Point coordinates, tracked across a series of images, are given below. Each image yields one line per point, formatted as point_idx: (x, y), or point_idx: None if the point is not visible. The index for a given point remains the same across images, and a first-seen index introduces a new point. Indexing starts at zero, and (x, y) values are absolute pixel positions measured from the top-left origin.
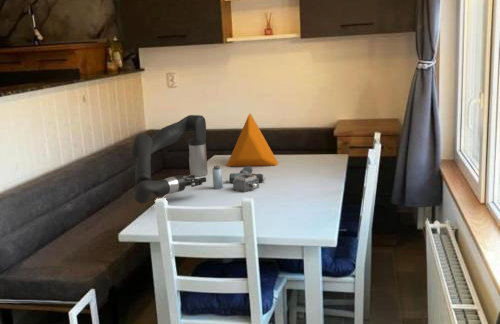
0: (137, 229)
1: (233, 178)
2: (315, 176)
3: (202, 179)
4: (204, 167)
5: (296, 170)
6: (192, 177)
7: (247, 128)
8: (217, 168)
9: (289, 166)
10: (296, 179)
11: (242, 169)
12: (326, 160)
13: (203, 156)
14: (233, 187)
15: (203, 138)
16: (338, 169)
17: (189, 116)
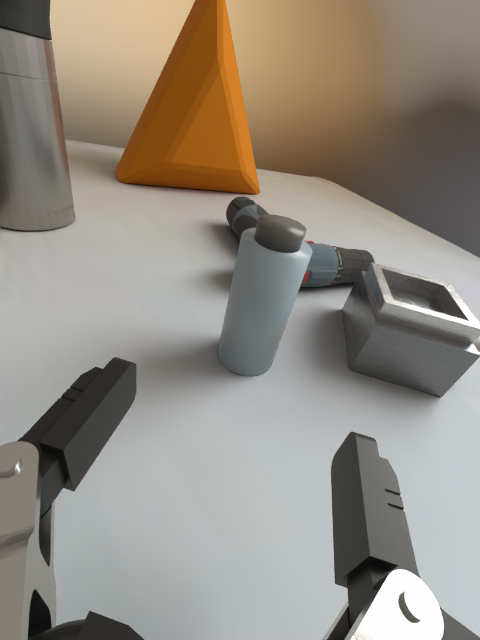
0: None
1: None
2: (419, 247)
3: (409, 540)
4: (62, 187)
5: (335, 218)
6: (112, 409)
7: (214, 38)
8: (298, 244)
9: (294, 201)
10: (409, 261)
11: (253, 215)
12: (329, 190)
13: (52, 123)
14: (358, 360)
15: None
16: (404, 221)
17: None
